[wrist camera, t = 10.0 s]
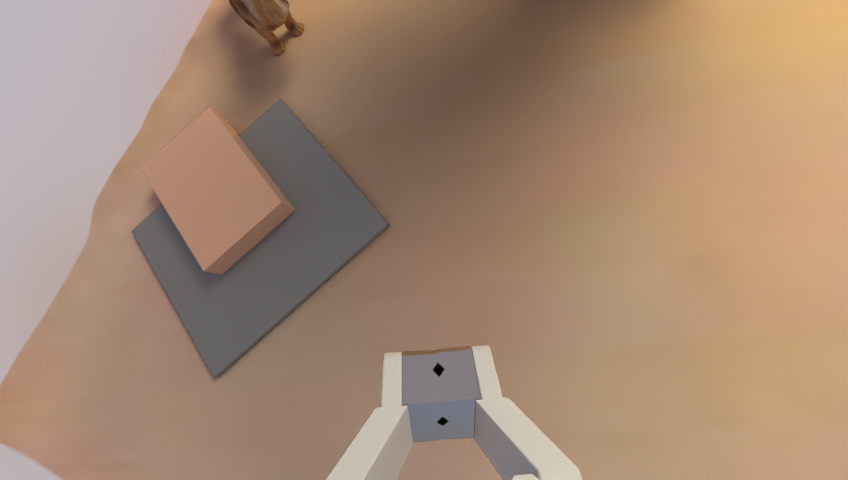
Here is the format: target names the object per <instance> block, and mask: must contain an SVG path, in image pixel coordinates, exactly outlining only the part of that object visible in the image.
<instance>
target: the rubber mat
mask: <svg viewBox="0 0 848 480" xmlns="http://www.w3.org/2000/svg"><path fill="white" fill-rule="evenodd" d="M239 137H240V138H241V139H242V141H243V142H244V143H245V145H246V146H247V147H248V148H249V150H250V151H251V152H252V154H253V155H254V156H255V158H256V159H257V160H258V162H259V163H260V164H261V165H262V167H263V168H264V169H265V171H266V172H267V173H268V175H269V176H270V177H271V179H272V180H273V181H274V182H275V184H276V185H277V186H278V188H279V189H280V190H281V192H282V193H283V194H284V195H285V197H286V198H287V199H288V201H289V202H290V203H291V205H292V206H293V207H294V209H295V211H294V212H292V213H291V214H290V215H289V216H288V217H287V218H286V219H285V220H283V221H282V222H281V223H280V224H279V225H278V226H277V227H276V228H274V229H273V230H272V231H271V232H270V233H269V234H268V235H267V236H265V237H264V238H263V239H262V240H261V241H260V242H259V243H257V244H256V245H255V246H254V247H253V248H252V249H251V250H250V251H248V252H247V253H246V254H245V255H244V256H243V257H242V258H241V259H239V260H238V261H237V262H236V263H235V264H234V265H233V266H232V267H230V268H229V269H228V270H227V271H226V272H225V273H224V274H217V273H211V272H205V271H203V270H202V268H201V266H200V265H199V263H198V261H197V260H196V258H195V257H194V255H193V253H192V252H191V250H190V248H189V247H188V245H187V243H186V242H185V240H184V239H183V237H182V235H181V234H180V232H179V230H178V229H177V227H176V226H175V224H174V222H173V221H172V219H171V217H170V216H169V214H168V213H167V211H166V209H165V208H164V206H163V204H161V205H160V206H159V207H158V208H157V209H156V210H155V211H154V212H152V213H151V214H150V215H149V216H148V217H147V218H146V219H144V220H143V221H142V222H141V223H140V224H139V225H138V226H137V227H135V228H134V229H133V230H132V233H133V235H134V236H135V238H136V240H137V242H138V244H139V245H140V247H141V249H142V251H143V252H144V254H145V256H146V258H147V260H148V261H149V263H150V265H151V267H152V269H153V270H154V272H155V274H156V276H157V277H158V279H159V281H160V283H161V285H162V286H163V288H164V290H165V292H166V293H167V295H168V297H169V299H170V301H171V302H172V304H173V306H174V308H175V309H176V311H177V313H178V315H179V317H180V318H181V320H182V322H183V324H184V326H185V327H186V329H187V331H188V333H189V334H190V336H191V338H192V340H193V342H194V343H195V345H196V347H197V349H198V350H199V352H200V354H201V356H202V358H203V359H204V361H205V363H206V365H207V366H208V368H209V370H210V372H211V374H212V375H213V377H214V378H215V377H219V376H220V375H221V374H222V373H224V372H225V371H226V370H227V369H228V368H229V367H230V366H231V365H233V364H234V363H235V362H236V361H237V360H238V359H239V358H240V357H242V356H243V355H244V354H245V353H246V352H247V351H248V350H250V349H251V348H252V347H253V346H254V345H255V344H256V343H257V342H259V341H260V340H261V339H262V338H263V337H264V336H265V335H266V334H268V333H269V332H270V331H271V330H272V329H273V328H274V327H276V326H277V325H278V324H279V323H280V322H281V321H282V320H283V319H285V318H286V317H287V316H288V315H289V314H290V313H291V312H292V311H294V310H295V309H296V308H297V307H298V306H299V305H300V304H302V303H303V302H304V301H305V300H306V299H307V298H308V297H309V296H311V295H312V294H313V293H314V292H315V291H316V290H317V289H318V288H320V287H321V286H322V285H323V284H324V283H325V282H326V281H328V280H329V279H330V278H331V277H332V276H333V275H334V274H335V273H337V272H338V271H339V270H340V269H341V268H342V267H343V266H344V265H346V264H347V263H348V262H349V261H350V260H351V259H352V258H354V257H355V256H356V255H357V254H358V253H359V252H360V251H361V250H363V249H364V248H365V247H366V246H367V245H368V244H369V243H370V242H372V241H373V240H374V239H375V238H376V237H377V236H378V235H379V234H381V233H382V232H383V231H384V230H385V229H386V228H387V227H389V226H390V225H389V224H388V223H387V222H386V220H385V219H384V218H383V217H382V216H381V215H380V213H379V212H378V211H377V210H376V209H375V208H374V206H373V205H372V204H371V203H370V202H369V201H368V199H367V198H366V197H365V196H364V195H363V194H362V193H361V191H360V190H359V189H358V188H357V187H356V186H355V184H354V183H353V182H352V181H351V180H350V179H349V177H348V176H347V175H346V174H345V173H344V172H343V170H342V169H341V168H340V167H339V166H338V165H337V163H336V162H335V161H334V160H333V159H332V158H331V156H330V155H329V154H328V153H327V152H326V151H325V149H324V148H323V147H322V146H321V145H320V144H319V142H318V141H317V140H316V139H315V138H314V137H313V135H312V134H311V133H310V132H309V131H308V130H307V128H306V127H305V126H304V125H303V124H302V123H301V121H300V120H299V119H298V118H297V117H296V116H295V115H294V113H293V112H292V111H291V110H290V109H289V108H288V106H287V105H286V104H285V103H284V102H283V101H282V100H281V99H280V100H279V101H278V102H276V103H275V104H274V105H273V106H272V107H271V108H270V109H269V110H267V111H266V112H265V113H264V114H263V115H262V116H261V117H260V118H258V119H257V120H256V121H255V122H254V123H253V124H252V125H250V126H249V127H248V128H247V129H246V130H245V131H244V132H243V133H241V134H240V135H239Z"/></svg>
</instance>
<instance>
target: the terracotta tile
mask: <svg viewBox="0 0 848 480" xmlns="http://www.w3.org/2000/svg"><path fill="white" fill-rule="evenodd" d="M140 169H141V170H142V172H143V174H144V175H145V177H146V178H147V180H148V182H149V183H150V185H151V187H152V188H153V190H154V191H155V193H156V195H157V196H158V198H159V200H160V201H161V203H162V204H163V206H164V208H165V209H166V211H167V213H168V214H169V216H170V217H171V219H172V221H173V222H174V224H175V226H176V227H177V229H178V230H179V232H180V234H181V235H182V237H183V239H184V240H185V242H186V243H187V245H188V247H189V248H190V250H191V252H192V253H193V255H194V257H195V258H196V260H197V261H198V263H199V265H200V266H201V268H202V270H203V271H205V272H211V273H217V274H224V273H225V272H226V271H227V270H228V269H229V268H230V267H232V266H233V265H234V264H235V263H236V262H237V261H238V260H239V259H241V258H242V257H243V256H244V255H245V254H246V253H247V252H248V251H250V250H251V249H252V248H253V247H254V246H255V245H256V244H257V243H259V242H260V241H261V240H262V239H263V238H264V237H265V236H267V235H268V234H269V233H270V232H271V231H272V230H273V229H274V228H276V227H277V226H278V225H279V224H280V223H281V222H282V221H283V220H285V219H286V218H287V217H288V216H289V215H290V214H291V213H292V212H294V211H295V209H294V207H293V206H292V205H291V203H290V202H289V201H288V199H287V198H286V197H285V195H284V194H283V193H282V192H281V190H280V189H279V188H278V186H277V185H276V184H275V182H274V181H273V180H272V179H271V177H270V176H269V175H268V173H267V172H266V171H265V169H264V168H263V167H262V165H261V164H260V163H259V162H258V160H257V159H256V158H255V156H254V155H253V154H252V152H251V151H250V150H249V148H248V147H247V146H246V145H245V143H244V142H243V141H242V139H241V138H240V137H239V135H238V134H237V133H236V131H235V130H234V129H233V128H232V126H231V125H230V124H229V122H228V121H227V120H226V119H225V118H224V117H223V116H221V115H220V114H219V113H217V112H216V111H215V110H213V109H212V108H211V107H208V108H207V109H206V110H205V111H204V112H203V113H202V114H200V115H199V116H198V117H197V118H196V119H195V120H194V121H193V122H191V123H190V124H189V125H188V126H187V127H186V128H185V129H184V130H182V131H181V132H180V133H179V134H178V135H177V136H176V137H175V138H173V139H172V140H171V141H170V142H169V143H168V144H167V145H166V146H164V147H163V148H162V149H161V150H160V151H159V152H158V153H157V154H155V155H154V156H153V157H152V158H151V159H150V160H149V161H148V162H146V163H145V164H144V165H143V166H142V167H141V168H140Z"/></svg>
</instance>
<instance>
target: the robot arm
mask: <svg viewBox="0 0 848 480" xmlns="http://www.w3.org/2000/svg"><path fill="white" fill-rule="evenodd" d="M443 437H444V438H443ZM458 438H474V440H475V441H476V442H477V444H478V445H479V447H480V448H481V449H482V451H483V452H484V453H485V455H486V456H487V458H488V459H489V460H490V462H491V463H492V465H493V466H494V467H495V469H496V470H497V472H498V473H499V474H500V476H501V477H502V478H503V480H583V479H582V477H581V474H580V471H579V469H578V468H577V467H576V466H575V465H574V464H573V463H572V462H571V461H570V460H569V459H568V458H567V457H566V456H565V455H564V454H563V453H562V452H561V451H560V450H559V449H558V448H557V447H556V446H555V444H554V443H553V442H552V441H551V440H550V439H549V438H548V437H547V436H546V435H545V434H544V433H543V432H542V431H541V430H540V429H539V428H538V427H537V426H536V425H535V424H534V423H533V422H532V421H531V420H530V419H529V418H528V417H527V416H526V415H525V414H524V413H523V412H522V411H521V410H520V409H519V408H518V407H517V406H516V405H515V404H514V403H513V402H512V401H511V400H510V399H509V398H508V397H507V398H503V397H502V393H501V389H500V385H499V381H498V377H497V373H496V369H495V365H494V361H493V357H492V353H491V349H490V347H489V346H488V345H483V346H471V347H470V346H466V347H455V348H444V349H436V350H426V351H407V352H391V353H385V354H384V358H383V373H382V392H381V407H379V408H375V409H374V411H373V412H372V414H371V415H370V416H369V418H368V419H367V421H366V422H365V424H364V425H363V427H362V428H361V430H360V431H359V432H358V434H357V435H356V437H355V438H354V440H353V441H352V443H351V444H350V446H349V447H348V448H347V450H346V451H345V453H344V454H343V456H342V457H341V459H340V460H339V462H338V463H337V465H336V466H335V467H334V469H333V470H332V472H331V473H330V475H329V476H328V478H327V479H326V480H396V479H397V477H398V475H399V473H400V471H401V469H402V467H403V465H404V463H405V461H406V459H407V457H408V455H409V453H410V451H411V449H412V447H413V443H414V442H423V441H432V440H441V439H458Z"/></svg>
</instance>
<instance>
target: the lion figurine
mask: <svg viewBox="0 0 848 480" xmlns="http://www.w3.org/2000/svg"><path fill="white" fill-rule="evenodd" d="M229 2H230V4H231V5H232V7H233V8H234V10H235V11H236V12H237V14H238V15H239V16H240V17H241V18H243V19H244V21H245V22H246V23H247V24H248V25H249V26H250V27H252V28H254V29H255V30H256V31H257V32H258V33H259V34H260V35H261V36H262V37H263V38H264V39H266V40H267V41H268V42H269V43H270V44H271V46H272V52H273V53H274V54H276V55H281V54H282V53H283V52H284V51H285V47H284V45H283V43H282V41H281V40H280V39H279V38H277V37H276V36H275V35H274V34H273V33H272V32H271V31H275V30H276V28H279V27H280V26H282V24H283V23H285V25H286V27H287V29H288V30H289V31H291V32H292V33H293V34H295V35H300V34H302V32H303V30H304V25H303V24H302V23H298V22H296V21H295V20H294V19H293V17H292V15H291V14H290V11H289V3H288V1H287V0H229Z"/></svg>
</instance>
